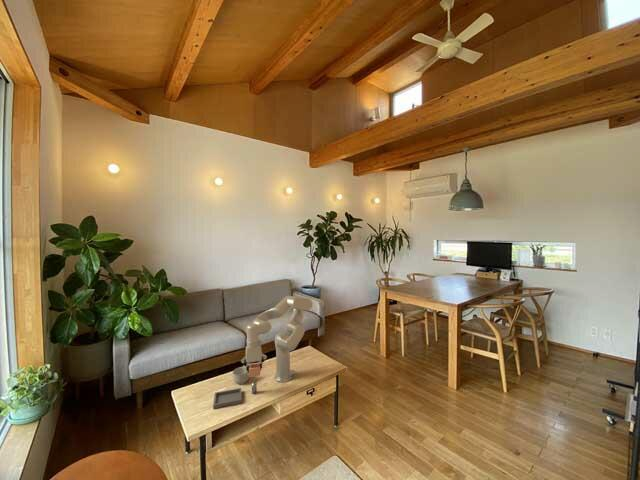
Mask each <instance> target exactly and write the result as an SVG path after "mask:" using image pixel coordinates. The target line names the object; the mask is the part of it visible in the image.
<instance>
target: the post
mask: <svg viewBox="0 0 640 480" xmlns="http://www.w3.org/2000/svg"><path fill="white" fill-rule="evenodd" d="M257 388H258V386H257V381H253V382H251V395H256V394H257V393H258V390H257Z"/></svg>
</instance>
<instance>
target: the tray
mask: <svg viewBox="0 0 640 480" xmlns="http://www.w3.org/2000/svg"><path fill="white" fill-rule="evenodd" d="M242 396H243V395H242V387H239V388H233V389H229V390H228V389H226V390H221V391H217V392H214V397H213V405H212V406H213V410H218V409H221V408H226V407H231V406H235V405H236V406H237V405H241V404H243V400H242V398H243V397H242Z"/></svg>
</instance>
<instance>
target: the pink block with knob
mask: <svg viewBox="0 0 640 480" xmlns="http://www.w3.org/2000/svg"><path fill="white" fill-rule="evenodd" d="M259 376H261V370H260V362H251V363H249V378H252V377H259Z"/></svg>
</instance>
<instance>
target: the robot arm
mask: <svg viewBox="0 0 640 480" xmlns="http://www.w3.org/2000/svg"><path fill="white" fill-rule="evenodd" d="M313 304H314V303H313V301H312V299H310V298H307V297H303V296H295V295H286V296H285V297H284V298H282V299H281V300H280V301H279V302H278V303H277V304H276V305H275V306H274V307H272V308H270V309H267V310H266V311H263V312H262V313H260V314H259V315H258V316H256V318H255V319H254V320H253V322H252V323H249V324H247V326H246V340H247V341H246V343H247V345H245V356H243V358H241V360H240V363H242V364H243V366H246V370H247V371H248V373H249V364H251V363H257V362H258V363H260V371H262V369H263V364H264V362H265V361H266V360H267V357H268V356H267V355H266V354H264V353H263V352H262V345H261V343H262V342H263V341H262V340H261V339H260V336H261V335H265V334H268V333H270V332H271V330H272V324H271V323H270V322H269V321H270V320H273V319H279V318H282V317H283V316H284V315H285V314H287V313H288V312H289V310H291V309H293V311H292V314H291V316H290V317H289V319H288V320H287V321H286V323H285V325H284V331H285V333H284V332H278V333H277V334H276V335H275V337H274V346H275V355H276V364H275V365H276V374H274V381H276V382H278V383H285V382H289V381H291V379H293V375H295V374H296V375H297V374H298V371H297V370H295V369H291V352H292V351H294V350H295V349H297V347H298V345H299V343H300V342H301V340H302V339H303V337H304V334H305V332H306V327H305V325H304V324H303V323H302V321H303V320H304V311H309V310H311V309H312V307H313Z"/></svg>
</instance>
